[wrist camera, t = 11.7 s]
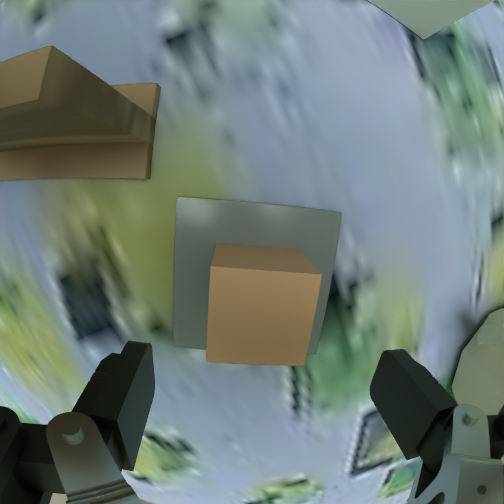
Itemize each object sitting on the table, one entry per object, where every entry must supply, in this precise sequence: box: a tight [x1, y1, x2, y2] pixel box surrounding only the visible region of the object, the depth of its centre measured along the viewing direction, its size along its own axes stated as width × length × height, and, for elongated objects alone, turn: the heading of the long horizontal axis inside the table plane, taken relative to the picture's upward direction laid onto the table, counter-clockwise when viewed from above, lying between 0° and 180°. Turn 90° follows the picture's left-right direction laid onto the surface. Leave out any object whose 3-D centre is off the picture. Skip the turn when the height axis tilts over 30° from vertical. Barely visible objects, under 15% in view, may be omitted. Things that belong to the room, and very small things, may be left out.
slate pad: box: [173, 196, 342, 354], centre depth 19 cm, size 10×10×1 cm
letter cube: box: [206, 243, 322, 366], centre depth 16 cm, size 5×5×5 cm
